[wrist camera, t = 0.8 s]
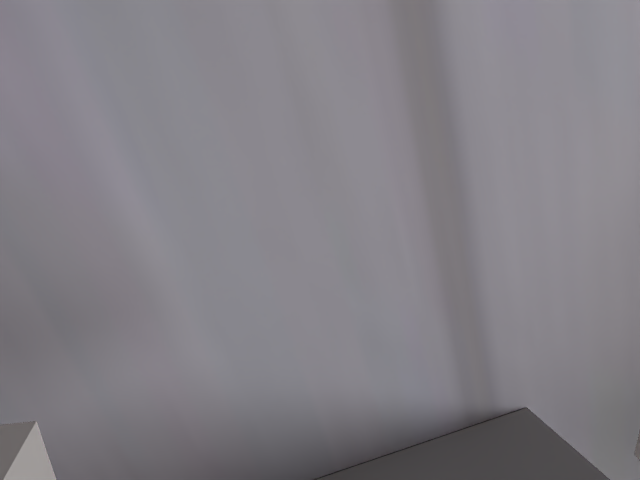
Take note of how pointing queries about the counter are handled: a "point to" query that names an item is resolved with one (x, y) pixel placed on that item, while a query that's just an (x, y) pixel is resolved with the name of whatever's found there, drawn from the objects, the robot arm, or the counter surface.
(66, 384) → the counter surface
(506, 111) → the counter surface
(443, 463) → the tall grey box
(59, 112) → the counter surface
